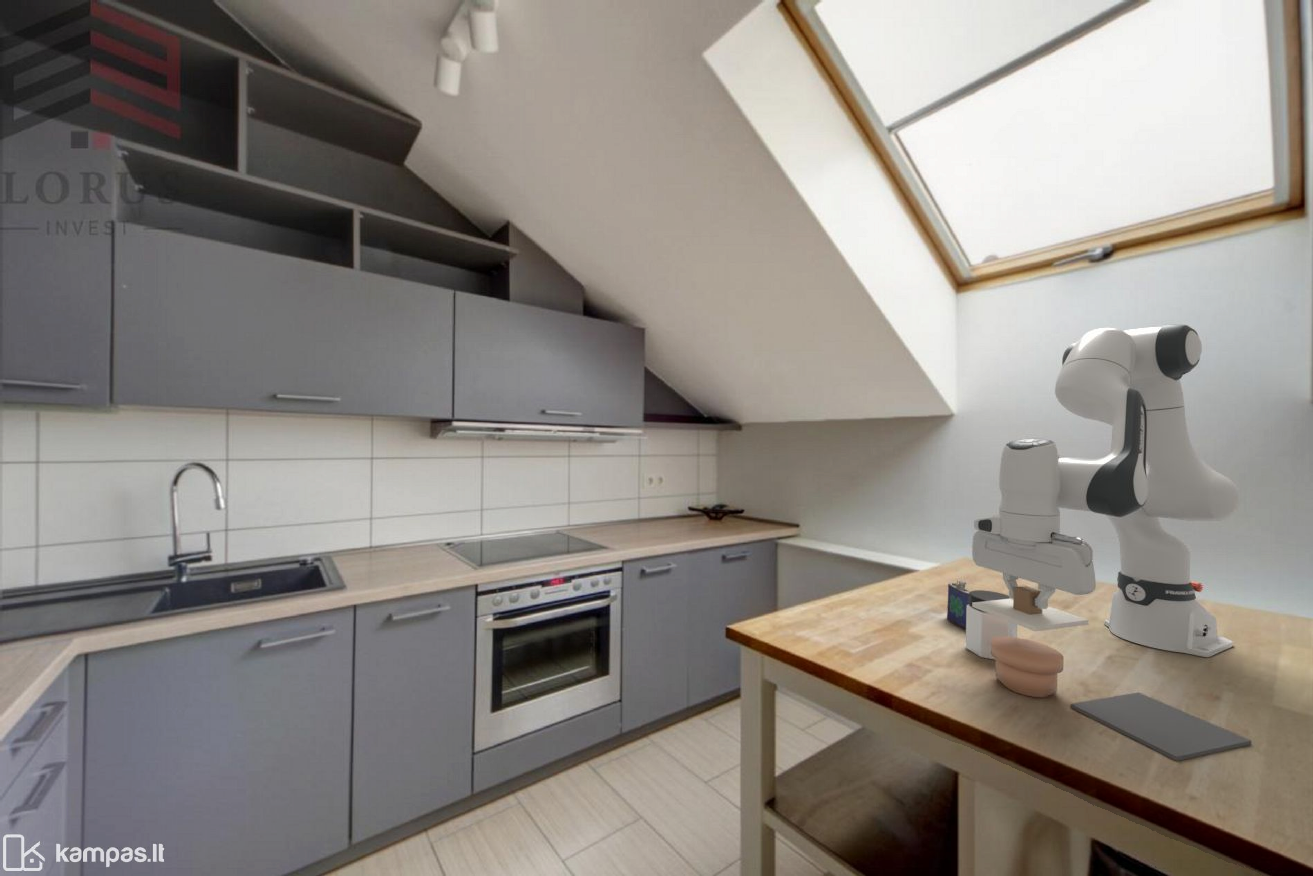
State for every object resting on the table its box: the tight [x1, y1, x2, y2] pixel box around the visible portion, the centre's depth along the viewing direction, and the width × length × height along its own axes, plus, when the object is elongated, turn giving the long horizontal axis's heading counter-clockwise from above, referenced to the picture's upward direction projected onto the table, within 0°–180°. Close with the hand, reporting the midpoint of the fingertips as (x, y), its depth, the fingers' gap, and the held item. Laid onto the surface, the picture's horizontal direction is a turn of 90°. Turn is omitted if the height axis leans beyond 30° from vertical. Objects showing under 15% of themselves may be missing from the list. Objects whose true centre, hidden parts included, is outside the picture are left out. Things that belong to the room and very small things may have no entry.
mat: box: [1069, 692, 1252, 762], centre depth 78 cm, size 16×14×1 cm
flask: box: [946, 580, 972, 631], centre depth 119 cm, size 9×3×11 cm, turn 2°
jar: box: [965, 589, 1018, 661], centre depth 103 cm, size 9×8×12 cm
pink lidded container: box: [991, 637, 1065, 698], centre depth 89 cm, size 11×11×7 cm
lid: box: [972, 585, 1089, 632], centre depth 89 cm, size 12×12×5 cm
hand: (1027, 603), depth 89 cm, fingers closed on lid, 3 cm apart
